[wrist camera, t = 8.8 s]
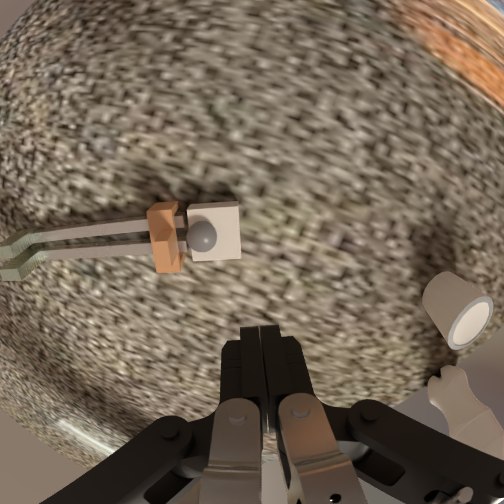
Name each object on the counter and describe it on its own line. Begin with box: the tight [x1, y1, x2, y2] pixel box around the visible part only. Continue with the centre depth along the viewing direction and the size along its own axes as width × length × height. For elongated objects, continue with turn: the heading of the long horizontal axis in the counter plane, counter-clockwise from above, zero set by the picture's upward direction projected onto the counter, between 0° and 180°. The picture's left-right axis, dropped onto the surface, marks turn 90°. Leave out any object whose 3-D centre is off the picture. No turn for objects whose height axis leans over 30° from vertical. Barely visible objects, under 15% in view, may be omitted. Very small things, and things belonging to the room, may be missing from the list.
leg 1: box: [0, 212, 186, 259], centre depth 22 cm, size 19×1×5 cm, turn 93°
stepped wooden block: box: [146, 201, 185, 273], centre depth 22 cm, size 2×5×5 cm, turn 2°
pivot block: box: [186, 201, 241, 261], centre depth 24 cm, size 4×4×2 cm
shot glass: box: [422, 271, 493, 350], centre depth 26 cm, size 7×7×7 cm
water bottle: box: [427, 365, 504, 460], centre depth 25 cm, size 7×7×25 cm
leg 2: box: [0, 236, 189, 281], centre depth 23 cm, size 19×1×5 cm, turn 92°
